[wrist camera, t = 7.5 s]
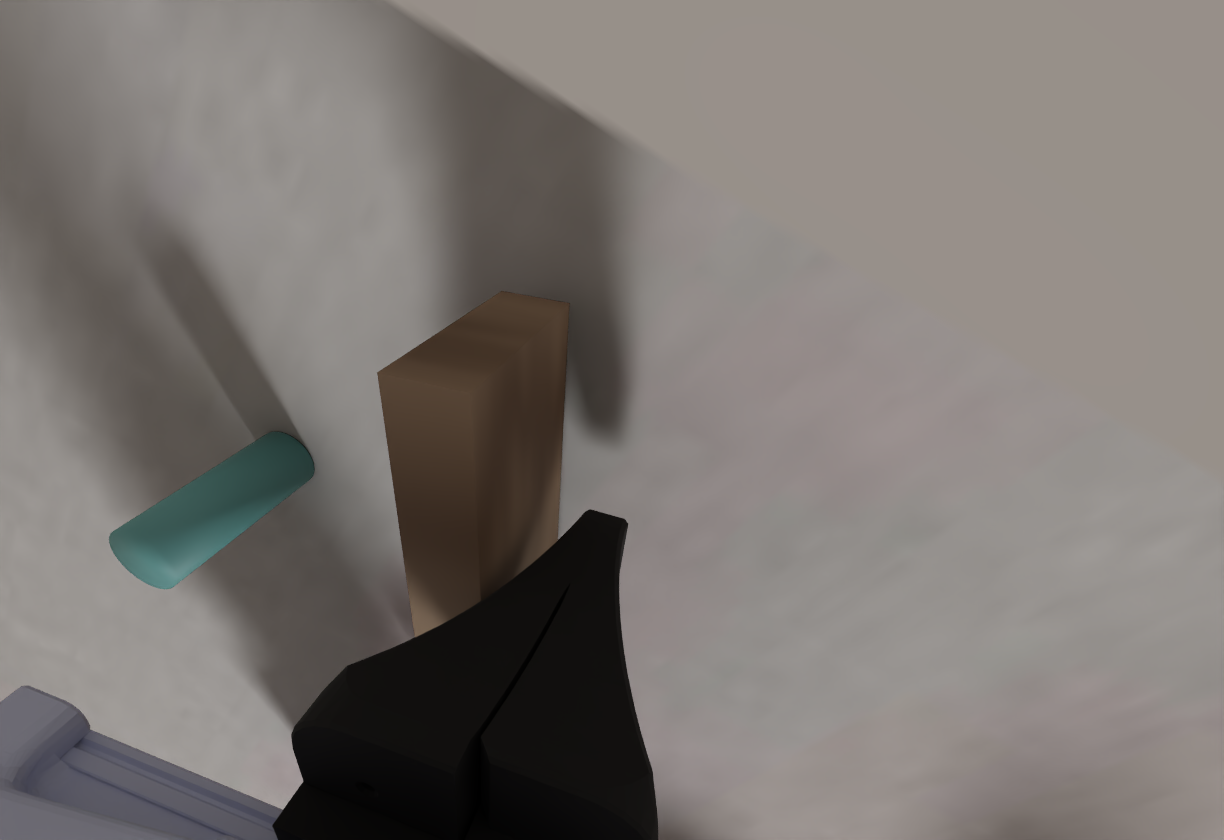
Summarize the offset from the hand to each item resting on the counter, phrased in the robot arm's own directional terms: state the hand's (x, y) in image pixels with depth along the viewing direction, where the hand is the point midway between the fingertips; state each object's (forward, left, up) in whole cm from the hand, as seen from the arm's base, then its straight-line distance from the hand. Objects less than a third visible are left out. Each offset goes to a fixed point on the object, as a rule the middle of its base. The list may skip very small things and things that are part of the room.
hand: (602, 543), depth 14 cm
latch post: (-10, +5, -2) cm, 12 cm away
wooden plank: (-5, -3, -1) cm, 5 cm away
